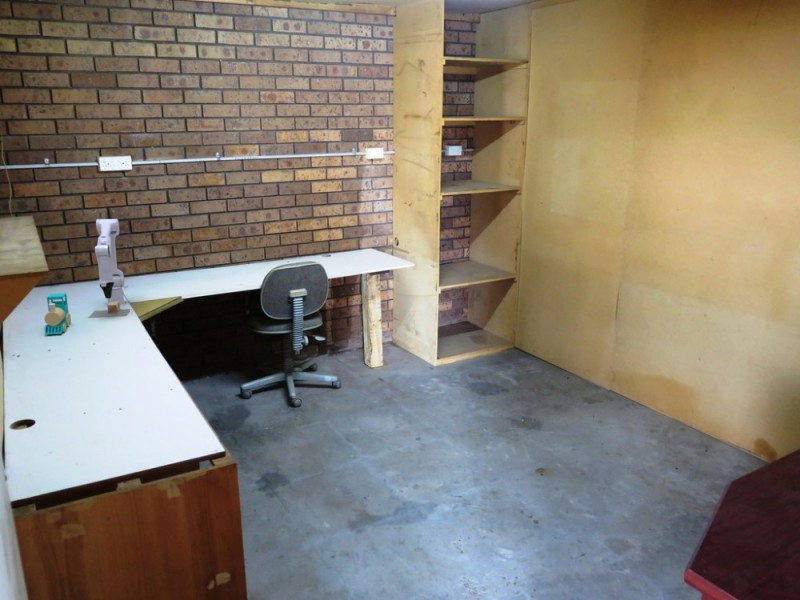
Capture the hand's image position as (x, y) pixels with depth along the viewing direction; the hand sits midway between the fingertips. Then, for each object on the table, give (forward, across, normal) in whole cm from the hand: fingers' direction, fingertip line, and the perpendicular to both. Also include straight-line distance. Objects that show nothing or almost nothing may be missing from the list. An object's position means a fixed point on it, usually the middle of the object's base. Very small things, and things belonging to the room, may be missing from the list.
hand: (108, 298), depth 293 cm
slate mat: (+9, +5, +1) cm, 11 cm away
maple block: (+7, +5, 0) cm, 9 cm away
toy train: (+10, -18, +18) cm, 27 cm away
